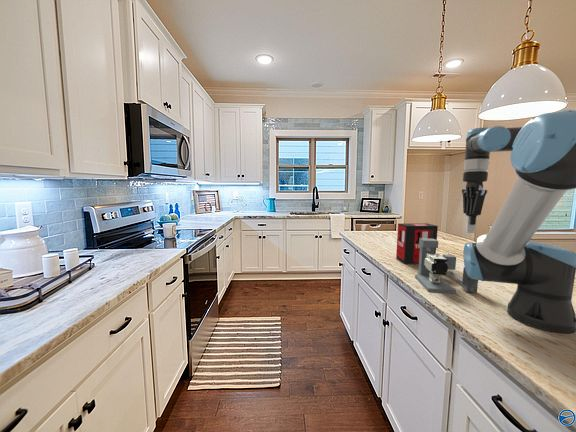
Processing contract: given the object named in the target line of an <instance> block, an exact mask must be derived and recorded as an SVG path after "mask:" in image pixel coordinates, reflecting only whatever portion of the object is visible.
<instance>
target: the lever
mask: <svg viewBox="0 0 576 432" xmlns="http://www.w3.org/2000/svg"><path fill="white" fill-rule="evenodd" d="M446 275H448V276H450V277H451V278H453V279H454V280H455V281H457V282H458V283H459V284H461V289H462V290H463V291H465V292H466V293H478V285H479V280H475V279H471V278H470V277H469V276H468V275H467V273H466V270H465V266H463V271H462V278H461V277H460V276H458V275H457V274H456V273H454V272H453V271H452V270H447V273H446Z"/></svg>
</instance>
